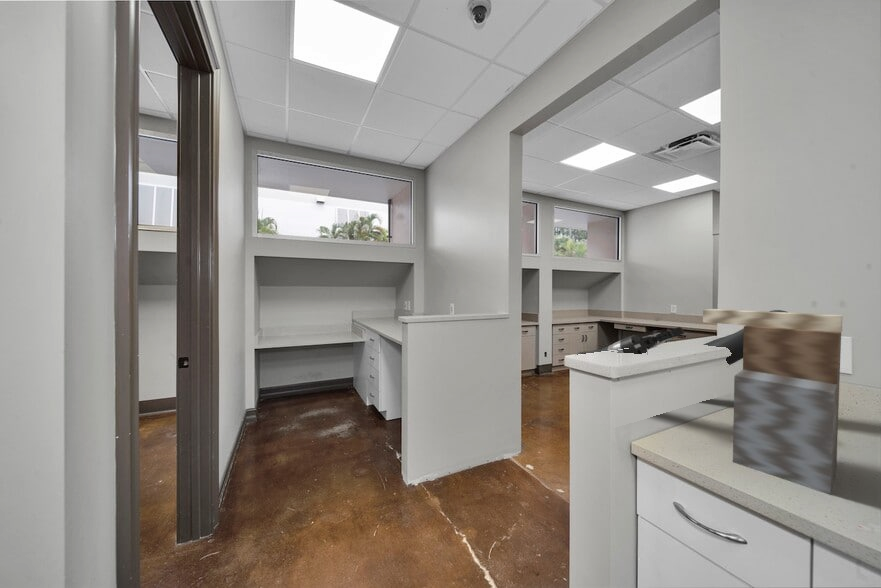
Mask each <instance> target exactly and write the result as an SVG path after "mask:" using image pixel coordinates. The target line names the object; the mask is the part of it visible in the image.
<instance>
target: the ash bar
mask: <svg viewBox="0 0 881 588" xmlns="http://www.w3.org/2000/svg"><path fill="white" fill-rule="evenodd" d="M786 312H787V311H786ZM786 312H769V311H766V310H765V311H763V310H762V311H761V310H743V309H742V310H741V309H740V310H739V309H724V308H723V309H722V308H719V309H718V308H704V309H703V310H702V323H708V324H721V325H722V324H723V325H736V326H746V325H747V326H760V327H773V328H787V329H800V330H813V331H826V332H839V333H841V334H842V333H843V320H844V319H843V318H844V317H843V314H823V313H821V314H820V313H802V312H789V313H786Z"/></svg>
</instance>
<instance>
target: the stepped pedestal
mask: <svg viewBox="0 0 881 588" xmlns="http://www.w3.org/2000/svg"><path fill="white" fill-rule="evenodd" d="M743 328H744V341H743V358H742V370H740V371H739V372H737V373H736V374H735V375H734V377H733V378H734V379H733V381H734V385H733V425H732V426H733V431H732V436H733V437H732V462H733V463H735V464H738V465H741V466H744V467H748V468H750V469H753V470H756V471H759V472H762V473H765V474H769V475H771V476H774V477H777V478H780V479H782V480H786V481H789V482H791V483H795V484H798V485H800V486H804V487H806V488H808V489H809V488H810V489H813V490H816V491H819V492H820V493H825V494H827V495H831V494H832V488H833V483H834V480H835V476H836V475H835V474H836V470H837V464H838V463H837V462H838V460H837V459H838V457H837V456H838V436H839V435H838V432H839V406H840V402H839V401H840V376H841V374H840V373H841V353H842V352H841V350H842V349H841V347H842V332H841V333H839V332H826V331H813V330H800V329H787V328H773V327H760V326H747V325H743Z"/></svg>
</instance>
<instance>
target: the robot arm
mask: <svg viewBox="0 0 881 588" xmlns="http://www.w3.org/2000/svg"><path fill="white" fill-rule="evenodd" d="M768 312H786V313H790V312H789V311H786V310H782V309H781V310H780V309H779V310H778V309H774V310H769V311H768ZM683 334H685V331H684V329H683V328H682V327H681V326H678V327H676V328H673V329H670V330H669V329H668V330H665V331H663V332H657V333H654V334H649V335H646V336H643V337H639V336H638V335H635V334H633V335H630V336H627V337H626V338H623V339H621V340H618V341H616V342H614V343H612V344H610V345H608V346H605V347H603V348H601V349H595V350H588V351H580V352H578V353H577V354H576V355H578V354H586V353H594V352H601V351H609V350H617V351H618V352H617V353H634V354H642V353H646V352H647V353H648V350H651V349H653V348H654V349H655V348H656V347H658V346H660V345H662V344H665V343H666V341H669V340H672V339H673V338H675V337H679V336H680V335H683ZM743 341H744V327H743V328H741V329H740V330H738V331H735V332H734V333H732V334H728V335H726V336H722V337H718V338H716V339H712V340H711V341H709V342H706V343H704V344H703V345H708V346H716V347H726V348H728V349H729V350H730V352H731V353H732V354H731V356H729V357H727V358H726V361H727V363H728V364H729V366H730V365H731V366H732V365H734V364H735V363H737V362H739V361H740V360H743ZM624 348H629V349H624ZM618 349H623V350H618ZM611 352H614V351H611Z"/></svg>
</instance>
